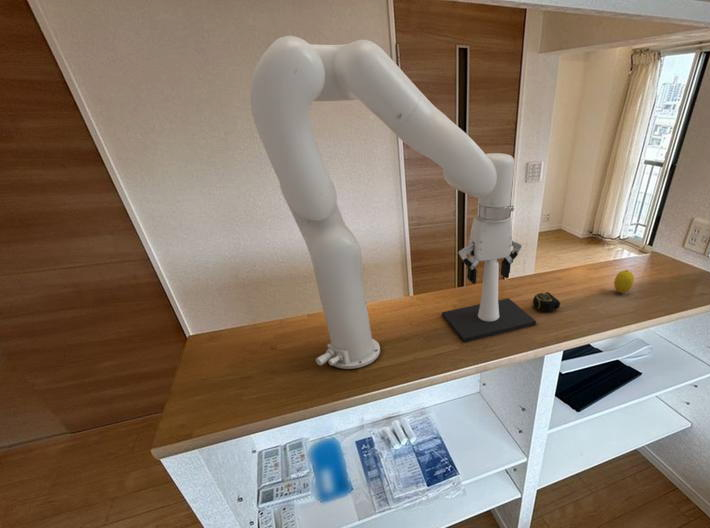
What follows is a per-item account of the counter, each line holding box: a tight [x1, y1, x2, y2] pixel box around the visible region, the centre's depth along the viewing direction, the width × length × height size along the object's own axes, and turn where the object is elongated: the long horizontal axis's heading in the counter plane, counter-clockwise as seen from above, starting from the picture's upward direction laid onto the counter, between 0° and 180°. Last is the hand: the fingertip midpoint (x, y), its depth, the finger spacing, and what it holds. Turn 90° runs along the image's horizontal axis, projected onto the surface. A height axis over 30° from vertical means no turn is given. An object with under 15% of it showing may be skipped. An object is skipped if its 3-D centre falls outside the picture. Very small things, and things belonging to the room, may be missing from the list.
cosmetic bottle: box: [478, 259, 500, 321], centre depth 98 cm, size 6×6×22 cm
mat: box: [441, 297, 537, 343], centre depth 104 cm, size 22×15×1 cm
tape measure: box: [532, 291, 561, 312], centre depth 110 cm, size 7×7×4 cm
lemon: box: [613, 269, 635, 294], centre depth 117 cm, size 6×6×8 cm
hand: (488, 279), depth 97 cm, fingers open, 9 cm apart
